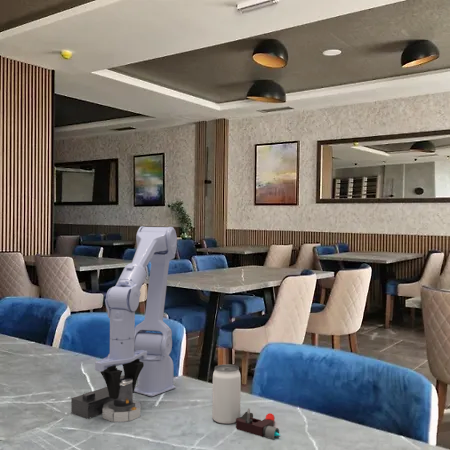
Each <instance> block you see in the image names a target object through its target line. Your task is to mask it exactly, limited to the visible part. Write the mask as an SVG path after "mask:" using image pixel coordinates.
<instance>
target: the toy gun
mask: <svg viewBox="0 0 450 450" xmlns="http://www.w3.org/2000/svg"><path fill="white" fill-rule="evenodd" d="M274 424H275V415H274V414H273V413H271V412H269V413H267V414H266V415H265V418H264V419H259V418H256V417H255V418H254V413H253V412H251V408H248V409H247V411H245V412H244V413H243V415H242V416H240V418H236V423H235V428H236V430H238V431H241V432H245V433H249V434H251V435H255V436H258V437H265V438H267V439H271V440H276V438H279V436H281V434H280V428H278V427H275V425H274Z"/></svg>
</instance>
